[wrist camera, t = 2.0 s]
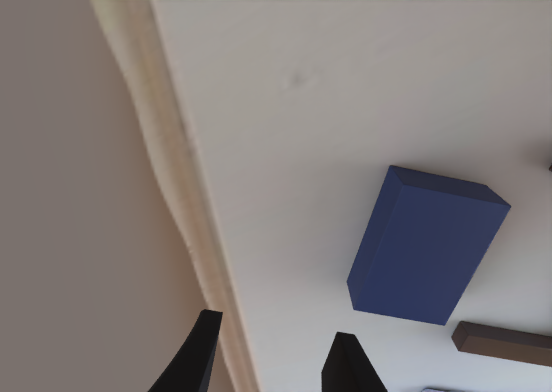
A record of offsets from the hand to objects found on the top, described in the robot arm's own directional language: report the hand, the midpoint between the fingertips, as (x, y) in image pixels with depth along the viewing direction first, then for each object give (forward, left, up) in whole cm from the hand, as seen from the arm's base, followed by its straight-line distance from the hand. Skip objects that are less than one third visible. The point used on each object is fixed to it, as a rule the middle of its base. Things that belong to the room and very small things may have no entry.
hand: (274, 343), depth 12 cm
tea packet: (0, -8, -9) cm, 12 cm away
